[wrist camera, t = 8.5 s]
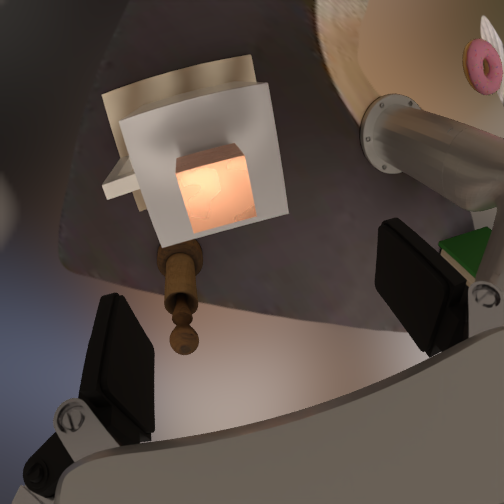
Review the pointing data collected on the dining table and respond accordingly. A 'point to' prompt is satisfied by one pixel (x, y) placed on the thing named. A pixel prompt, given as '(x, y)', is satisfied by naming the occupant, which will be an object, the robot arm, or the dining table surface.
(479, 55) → the doughnut
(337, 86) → the dining table surface
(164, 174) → the press pot
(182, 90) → the birch board
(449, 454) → the robot arm
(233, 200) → the brown square-faced block
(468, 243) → the hardback book
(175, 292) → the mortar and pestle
